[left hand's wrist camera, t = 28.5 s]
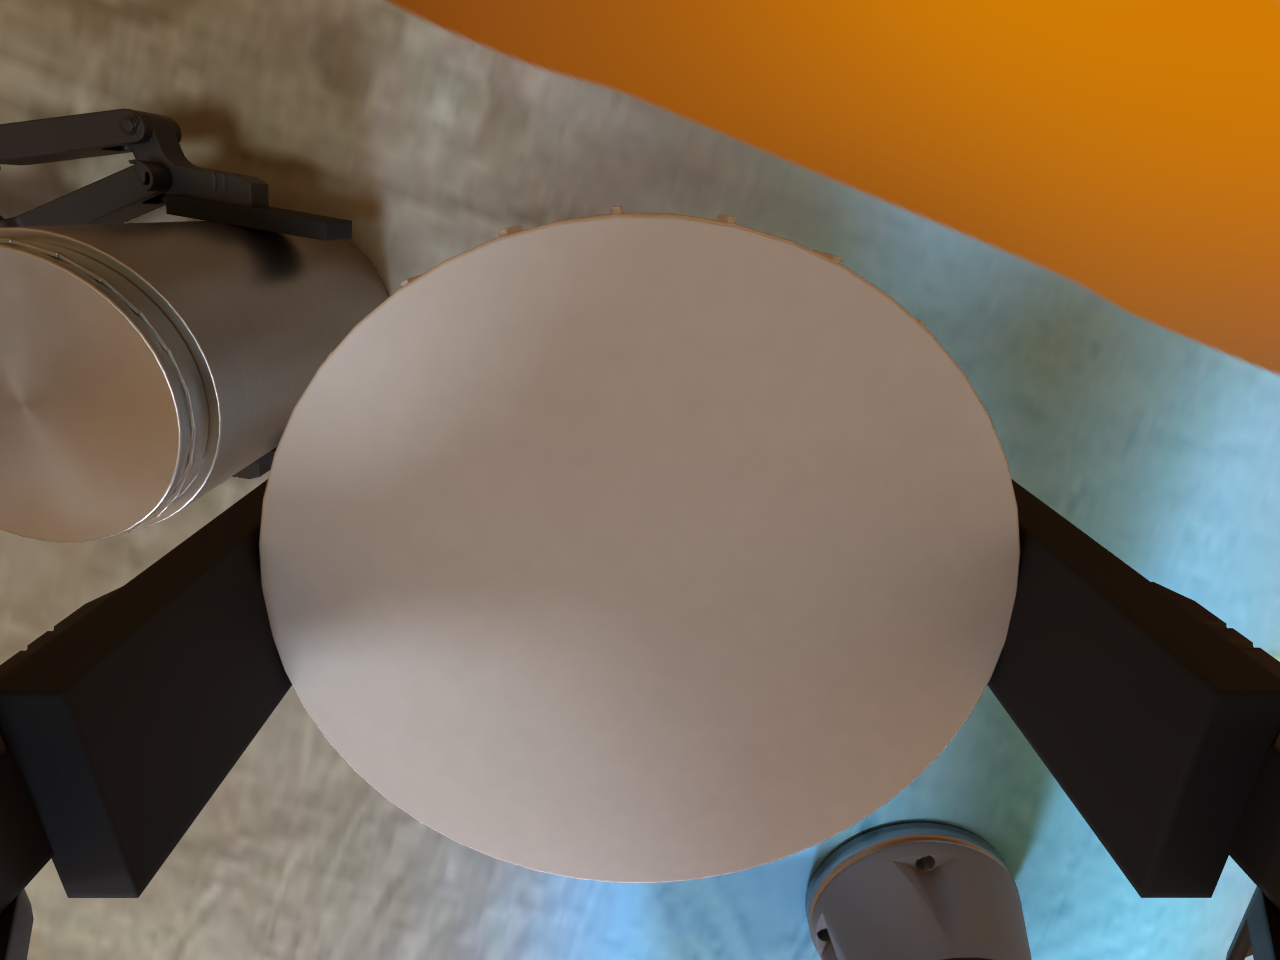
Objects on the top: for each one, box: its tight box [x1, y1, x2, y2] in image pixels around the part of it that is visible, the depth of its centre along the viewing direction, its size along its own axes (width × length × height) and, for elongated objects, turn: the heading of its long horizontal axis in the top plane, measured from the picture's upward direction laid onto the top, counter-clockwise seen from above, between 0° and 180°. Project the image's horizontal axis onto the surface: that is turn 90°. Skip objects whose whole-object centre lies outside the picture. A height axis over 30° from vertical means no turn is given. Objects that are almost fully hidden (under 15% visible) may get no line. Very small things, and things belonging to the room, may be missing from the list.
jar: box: [0, 221, 389, 543], centre depth 29 cm, size 10×10×18 cm
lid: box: [259, 206, 1020, 883], centre depth 11 cm, size 11×11×2 cm
